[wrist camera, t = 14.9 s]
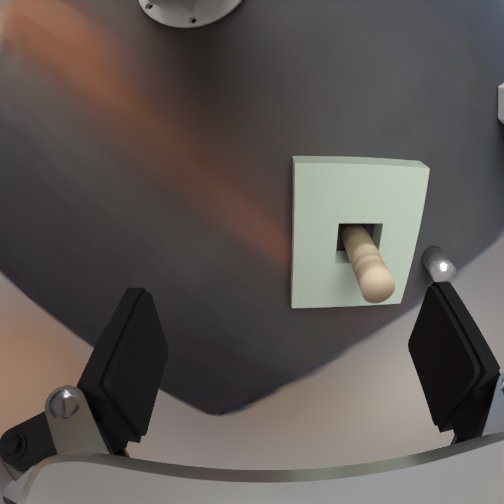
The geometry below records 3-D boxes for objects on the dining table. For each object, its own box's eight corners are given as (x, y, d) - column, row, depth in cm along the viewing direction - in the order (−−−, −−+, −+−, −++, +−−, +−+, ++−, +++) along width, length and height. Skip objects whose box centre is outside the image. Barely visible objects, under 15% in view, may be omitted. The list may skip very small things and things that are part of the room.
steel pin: (424, 245, 40) (438, 265, 36) (444, 245, 40) (459, 264, 36) (419, 266, 42) (432, 287, 38) (438, 265, 42) (452, 285, 38)
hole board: (292, 156, 35) (294, 163, 33) (419, 160, 34) (429, 168, 32) (290, 294, 46) (291, 308, 43) (394, 290, 45) (400, 303, 42)
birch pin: (341, 220, 39) (365, 276, 29) (367, 220, 39) (398, 275, 29) (338, 244, 41) (359, 304, 31) (363, 243, 41) (391, 302, 31)
